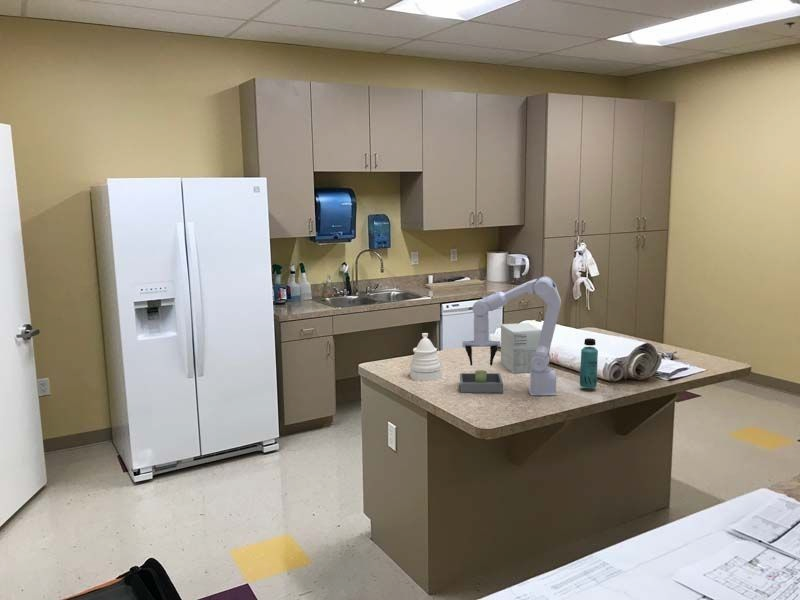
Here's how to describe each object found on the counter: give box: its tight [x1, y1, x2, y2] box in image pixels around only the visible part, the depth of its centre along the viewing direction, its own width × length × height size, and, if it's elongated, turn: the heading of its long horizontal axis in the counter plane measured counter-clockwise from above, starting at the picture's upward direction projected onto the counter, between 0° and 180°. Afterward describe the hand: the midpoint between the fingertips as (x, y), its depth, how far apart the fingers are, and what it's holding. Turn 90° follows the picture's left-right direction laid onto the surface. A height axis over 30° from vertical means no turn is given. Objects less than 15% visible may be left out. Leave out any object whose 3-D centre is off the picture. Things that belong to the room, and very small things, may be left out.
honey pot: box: [409, 332, 442, 382], centre depth 271 cm, size 13×13×18 cm
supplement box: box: [500, 322, 542, 374], centre depth 282 cm, size 17×13×18 cm
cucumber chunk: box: [474, 369, 488, 383], centre depth 255 cm, size 4×4×6 cm
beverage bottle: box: [579, 337, 599, 389], centre depth 249 cm, size 6×7×20 cm
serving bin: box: [459, 372, 504, 395], centre depth 255 cm, size 16×14×4 cm
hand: (481, 364), depth 254 cm, fingers open, 7 cm apart
